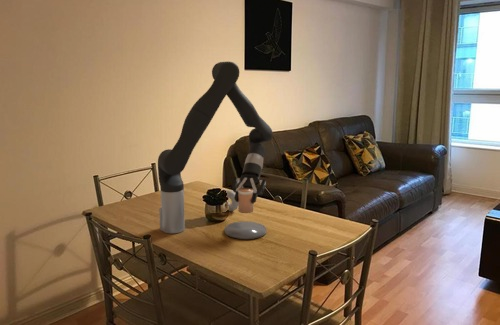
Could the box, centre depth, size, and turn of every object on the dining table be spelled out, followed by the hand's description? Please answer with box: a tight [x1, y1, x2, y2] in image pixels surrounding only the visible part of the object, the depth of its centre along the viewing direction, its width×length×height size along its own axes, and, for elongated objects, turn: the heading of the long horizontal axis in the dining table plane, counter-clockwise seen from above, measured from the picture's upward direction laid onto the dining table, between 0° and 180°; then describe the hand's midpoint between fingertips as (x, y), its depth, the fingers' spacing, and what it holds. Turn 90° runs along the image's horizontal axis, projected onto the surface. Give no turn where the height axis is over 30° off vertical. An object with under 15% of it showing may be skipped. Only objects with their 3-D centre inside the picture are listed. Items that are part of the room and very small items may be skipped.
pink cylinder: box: [237, 187, 254, 214], centre depth 168 cm, size 6×6×9 cm
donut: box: [225, 189, 238, 212], centre depth 195 cm, size 10×4×10 cm, turn 50°
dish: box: [224, 220, 267, 240], centre depth 171 cm, size 17×17×1 cm
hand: (244, 201), depth 166 cm, fingers closed on pink cylinder, 6 cm apart
